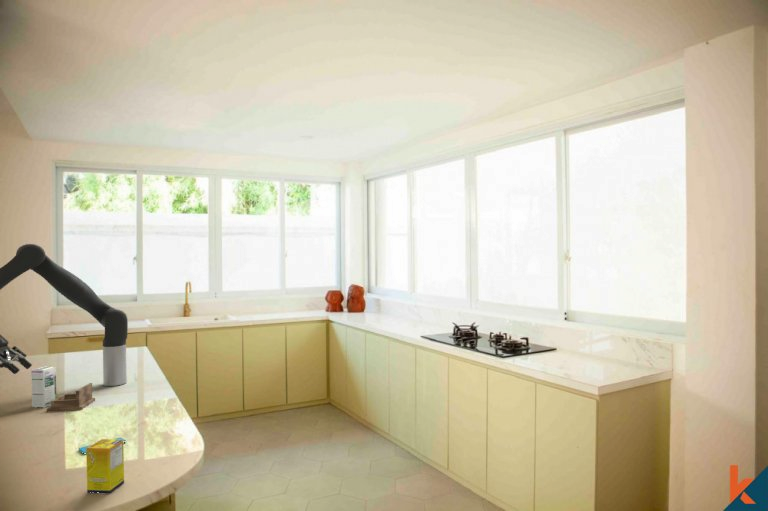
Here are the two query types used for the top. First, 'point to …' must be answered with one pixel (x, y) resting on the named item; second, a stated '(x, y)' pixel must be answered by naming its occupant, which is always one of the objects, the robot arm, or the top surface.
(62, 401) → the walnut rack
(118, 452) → the supplement box
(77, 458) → the top surface
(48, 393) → the syrup box
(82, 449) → the sponge
